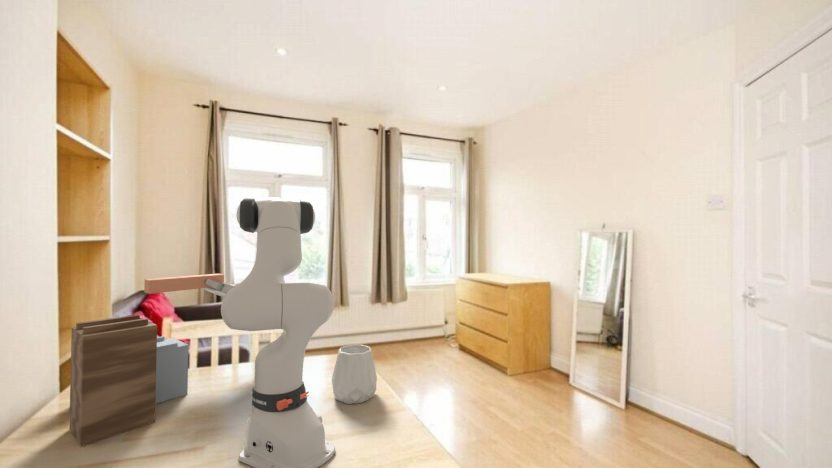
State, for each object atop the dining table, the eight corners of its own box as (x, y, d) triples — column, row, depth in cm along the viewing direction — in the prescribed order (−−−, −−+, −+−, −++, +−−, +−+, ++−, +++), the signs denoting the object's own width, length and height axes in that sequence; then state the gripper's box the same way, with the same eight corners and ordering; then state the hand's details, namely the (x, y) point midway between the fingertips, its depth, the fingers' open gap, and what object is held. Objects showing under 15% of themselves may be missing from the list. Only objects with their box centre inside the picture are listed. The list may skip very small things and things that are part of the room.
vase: (331, 409, 109) (332, 357, 109) (331, 389, 123) (332, 343, 123) (379, 404, 112) (380, 354, 112) (373, 386, 126) (374, 341, 126)
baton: (224, 286, 128) (224, 274, 128) (148, 293, 111) (149, 280, 111) (218, 284, 131) (218, 273, 131) (144, 292, 113) (144, 279, 113)
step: (187, 394, 117) (188, 341, 117) (145, 406, 108) (147, 349, 108) (172, 384, 124) (173, 334, 124) (132, 395, 115) (133, 341, 115)
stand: (155, 421, 99) (157, 319, 99) (80, 446, 87) (83, 330, 87) (139, 408, 107) (141, 312, 107) (69, 429, 95) (71, 321, 95)
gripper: (227, 285, 142) (194, 269, 132) (256, 291, 129) (221, 274, 120) (219, 300, 139) (184, 285, 130) (247, 308, 127) (210, 292, 117)
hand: (202, 280), depth 124 cm, fingers closed on baton, 4 cm apart
